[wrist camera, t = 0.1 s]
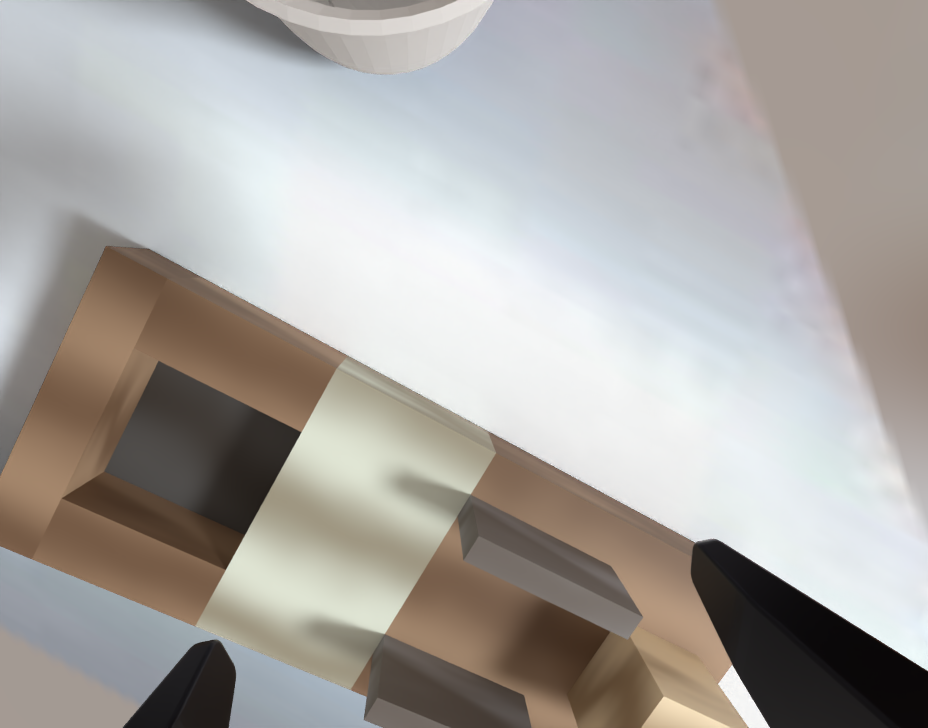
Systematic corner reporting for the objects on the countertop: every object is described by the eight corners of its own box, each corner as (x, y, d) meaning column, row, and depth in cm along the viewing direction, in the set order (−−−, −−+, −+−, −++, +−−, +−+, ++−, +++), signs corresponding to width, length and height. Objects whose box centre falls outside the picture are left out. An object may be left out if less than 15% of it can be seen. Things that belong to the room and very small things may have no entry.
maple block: (644, 729, 25) (690, 825, 21) (566, 694, 25) (597, 787, 20) (697, 655, 25) (757, 739, 20) (620, 617, 24) (663, 696, 20)
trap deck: (608, 750, 29) (659, 884, 23) (29, 501, 23) (-118, 588, 17) (740, 567, 27) (835, 656, 21) (149, 249, 22) (34, 240, 15)
